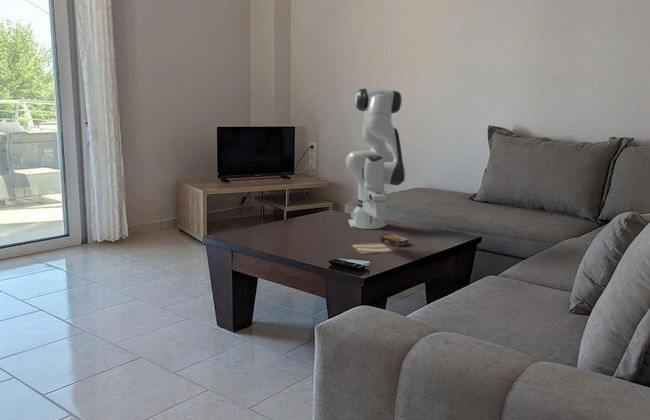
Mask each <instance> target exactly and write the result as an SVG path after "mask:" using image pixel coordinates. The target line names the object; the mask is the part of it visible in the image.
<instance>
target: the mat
mask: <svg viewBox="0 0 650 420" xmlns="http://www.w3.org/2000/svg"><path fill="white" fill-rule="evenodd" d="M351 246H352V247H353V248H354V249H355V250H356V251H357V252H358V253H359V254H361V255H371V254H389V253H394V251H393V250H392V249H391V248H390V247H388V246H386V245H385V243H383V242H373V243H372V242H371V243H370V242H369V243H352V244H351Z"/></svg>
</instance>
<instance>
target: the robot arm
mask: <svg viewBox="0 0 650 420" xmlns="http://www.w3.org/2000/svg"><path fill="white" fill-rule="evenodd" d="M354 103H355V107H356V109H357V110H358V111H361V112H364V115H363V121H362V122H363V123H362V129H361V130H362V131H361V137H362V140H363V141H364V143H367V144H369V148H370V149H369V150H356V151H355V150H354V151H351V152H349V153H348V154H347V156H346V158H345V165H346V168H347V169H348V171H350V172H351V174H353V176H354V177H355V179H356V181H357V188H358V191H357V192H358V194H357V195H358V196H357V199H356V207H355V208H354V209H353V212H350V219H348V220H347V221H348V223H349V226H350V228H357V229H366V230H377V229H381V228H384V227H386V226H387V224H386V223H385V222H384V219H385V217H386V214H387V213H386V212H387V202H386V201H388V195H387V194H386V191H385V185H392V186H399V185H401V184H403V182H405V179H406V168H405V165H404V161H403V155H402V154H403V153H402V147H401V141H400V134H399V131H398V128H395V127H394V125H393V123H392V114H395V113H397V112H399V111H400V109H401V107H402V104H403V97H402V94H401V92H399V91H397V90H390V89H383V88H360V89H358V90H357V93H356V94H355V96H354ZM386 143H387V144H389V145H390V146H391V150H389V148H388V147H387V145H386ZM391 151H392V152H391Z"/></svg>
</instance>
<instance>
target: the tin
mask: <svg viewBox="0 0 650 420" xmlns="http://www.w3.org/2000/svg"><path fill="white" fill-rule="evenodd" d="M379 239H380V243H383V244H387V245H391V246H395V247H402V246H408V243H409V238H407V237H405V236H402V235H398V234H394V233H383V234H380V235H379Z"/></svg>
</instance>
